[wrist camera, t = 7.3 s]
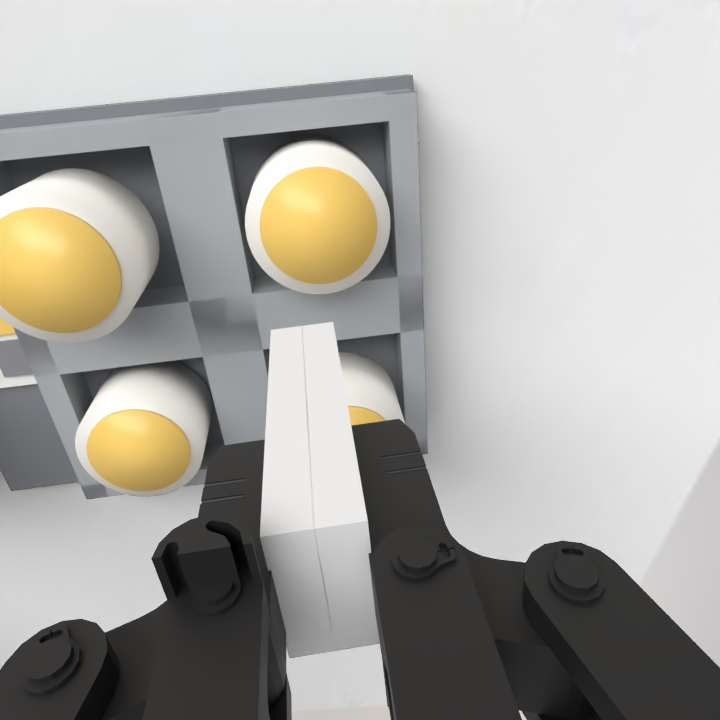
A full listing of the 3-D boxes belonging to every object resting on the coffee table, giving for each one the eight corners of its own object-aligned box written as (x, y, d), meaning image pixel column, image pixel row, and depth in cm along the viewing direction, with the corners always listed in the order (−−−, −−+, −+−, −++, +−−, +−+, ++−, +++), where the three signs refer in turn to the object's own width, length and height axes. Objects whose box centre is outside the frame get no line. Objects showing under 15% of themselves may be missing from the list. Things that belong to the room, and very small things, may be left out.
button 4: (291, 454, 31) (291, 509, 28) (274, 359, 28) (271, 407, 25) (398, 439, 32) (412, 492, 28) (392, 345, 29) (407, 389, 25)
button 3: (262, 270, 28) (258, 304, 24) (239, 143, 25) (231, 160, 21) (381, 256, 28) (395, 288, 25) (373, 129, 26) (387, 143, 22)
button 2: (117, 454, 33) (95, 507, 29) (84, 364, 30) (54, 410, 26) (222, 441, 33) (213, 491, 29) (199, 350, 30) (186, 394, 26)
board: (18, 479, 34) (-7, 518, 32) (-155, 130, 25) (-214, 141, 22) (421, 426, 36) (432, 459, 33) (408, 74, 26) (423, 78, 23)
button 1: (42, 311, 26) (0, 355, 22) (-11, 176, 23) (-70, 201, 19) (174, 295, 26) (154, 336, 22) (138, 160, 23) (109, 182, 19)
